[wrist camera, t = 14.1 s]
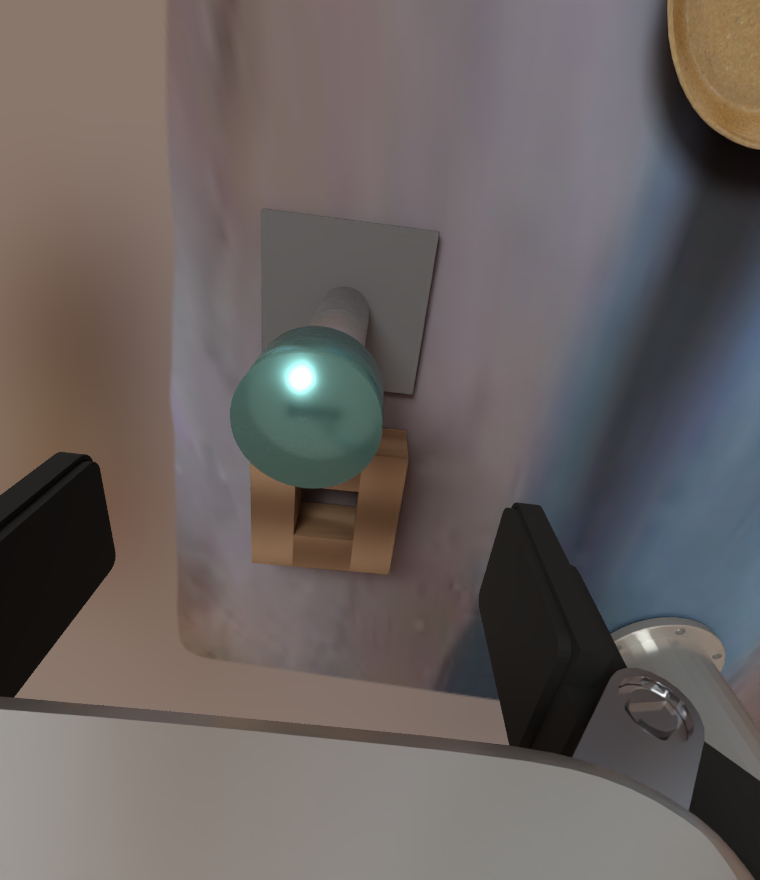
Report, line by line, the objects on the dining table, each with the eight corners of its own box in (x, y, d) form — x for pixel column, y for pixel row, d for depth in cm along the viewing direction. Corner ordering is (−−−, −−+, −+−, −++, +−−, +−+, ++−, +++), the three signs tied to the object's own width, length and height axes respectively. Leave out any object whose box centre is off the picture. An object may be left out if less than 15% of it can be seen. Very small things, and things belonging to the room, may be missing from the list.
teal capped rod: (390, 274, 27) (391, 363, 14) (380, 355, 30) (373, 495, 17) (305, 263, 27) (226, 343, 14) (302, 346, 29) (232, 480, 16)
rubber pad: (412, 391, 31) (412, 394, 31) (263, 374, 31) (261, 378, 30) (438, 231, 27) (439, 232, 26) (263, 208, 26) (261, 208, 26)
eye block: (388, 538, 38) (388, 574, 34) (264, 527, 37) (252, 562, 34) (405, 430, 33) (408, 458, 29) (263, 414, 32) (249, 442, 29)
